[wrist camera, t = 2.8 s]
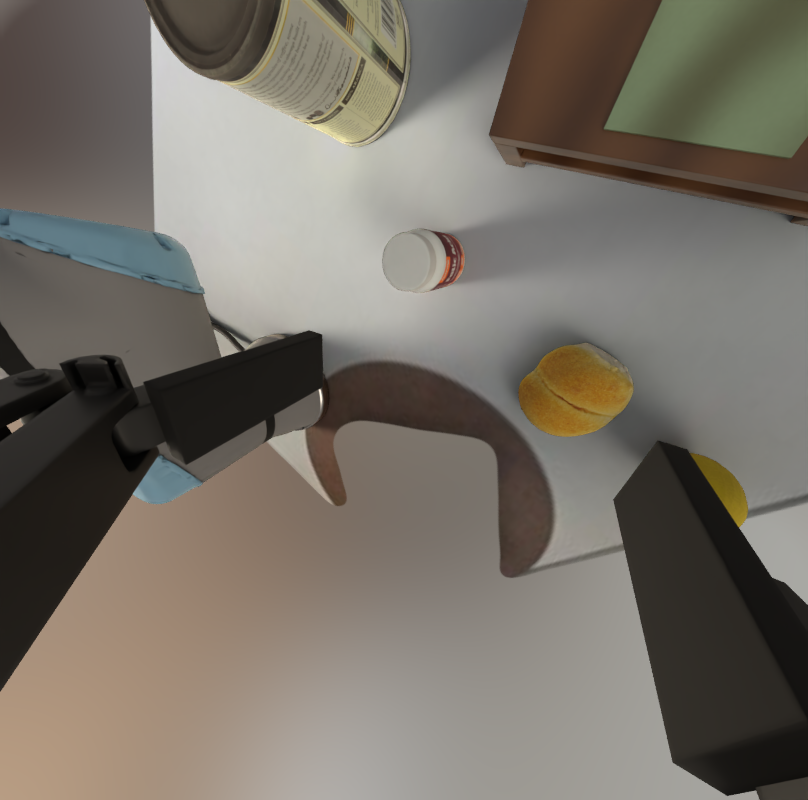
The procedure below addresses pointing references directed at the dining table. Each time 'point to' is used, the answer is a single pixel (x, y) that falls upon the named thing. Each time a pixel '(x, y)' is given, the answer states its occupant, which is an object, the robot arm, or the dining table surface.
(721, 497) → the lemon
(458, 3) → the dining table surface
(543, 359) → the bread roll
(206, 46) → the coffee can
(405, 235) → the pill bottle
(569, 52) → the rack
